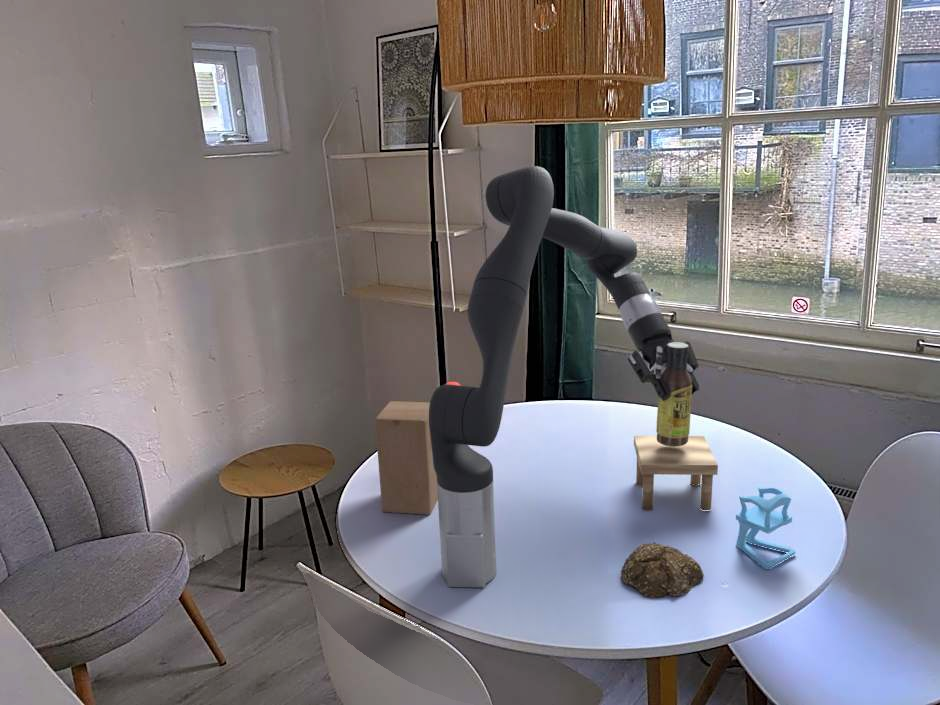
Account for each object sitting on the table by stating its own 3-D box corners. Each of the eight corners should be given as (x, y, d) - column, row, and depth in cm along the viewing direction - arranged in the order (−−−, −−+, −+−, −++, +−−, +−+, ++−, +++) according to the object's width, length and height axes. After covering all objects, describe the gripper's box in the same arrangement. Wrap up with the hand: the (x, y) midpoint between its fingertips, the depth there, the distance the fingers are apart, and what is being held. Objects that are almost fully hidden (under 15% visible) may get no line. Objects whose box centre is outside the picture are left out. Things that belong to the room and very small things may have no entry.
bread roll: (646, 549, 138) (647, 524, 136) (711, 575, 129) (713, 548, 128) (605, 580, 129) (605, 554, 128) (672, 610, 121) (673, 582, 119)
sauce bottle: (675, 451, 149) (679, 351, 143) (649, 441, 153) (652, 345, 148) (696, 442, 152) (701, 344, 146) (670, 433, 157) (674, 338, 151)
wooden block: (430, 516, 152) (424, 420, 146) (381, 512, 154) (374, 418, 148) (442, 492, 161) (437, 401, 156) (396, 489, 163) (389, 400, 158)
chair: (755, 536, 140) (758, 475, 137) (796, 555, 133) (801, 492, 130) (726, 550, 136) (730, 487, 133) (767, 570, 129) (772, 505, 126)
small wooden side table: (715, 513, 149) (717, 465, 146) (640, 512, 150) (641, 464, 147) (701, 480, 162) (703, 435, 159) (633, 479, 163) (634, 435, 161)
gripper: (622, 316, 149) (660, 393, 142) (682, 306, 155) (721, 379, 148) (606, 336, 155) (641, 411, 149) (664, 326, 161) (700, 397, 154)
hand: (681, 395), depth 148 cm, fingers closed on sauce bottle, 6 cm apart
